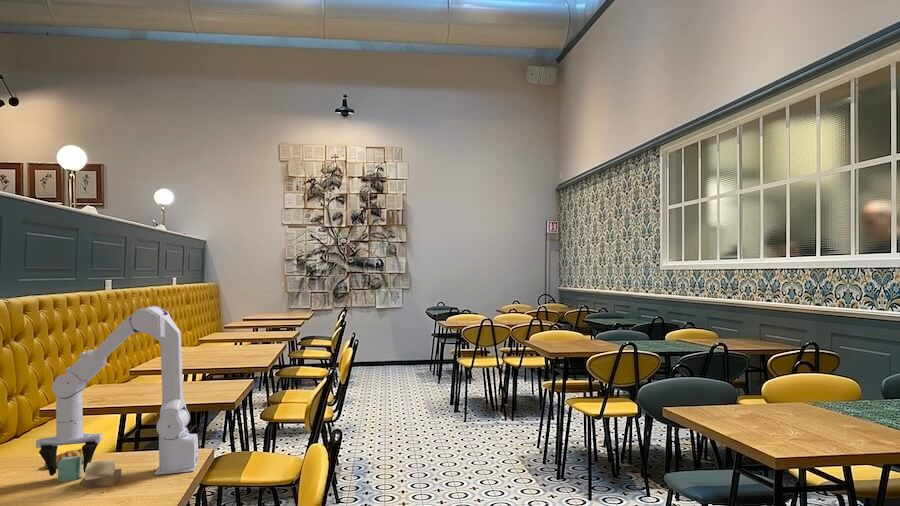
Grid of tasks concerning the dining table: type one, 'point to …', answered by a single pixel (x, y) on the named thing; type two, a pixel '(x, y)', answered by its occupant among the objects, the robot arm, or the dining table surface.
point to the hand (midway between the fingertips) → (69, 472)
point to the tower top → (100, 469)
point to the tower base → (101, 481)
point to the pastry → (69, 454)
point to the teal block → (69, 468)
